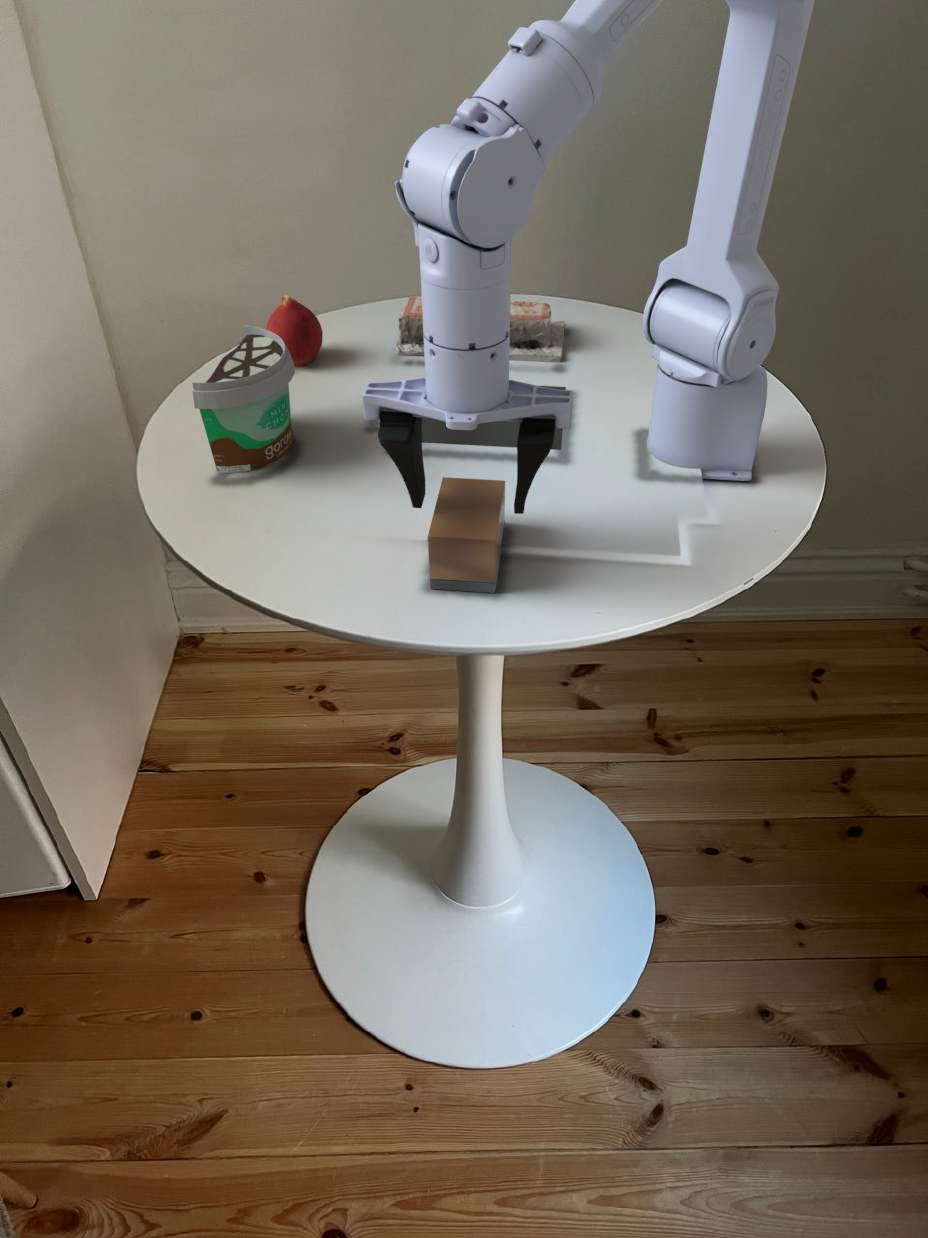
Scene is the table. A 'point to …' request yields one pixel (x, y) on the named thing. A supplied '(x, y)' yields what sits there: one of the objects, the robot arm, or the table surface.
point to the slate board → (480, 433)
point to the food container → (248, 403)
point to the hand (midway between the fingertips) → (469, 503)
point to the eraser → (467, 535)
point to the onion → (297, 330)
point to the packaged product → (527, 331)
